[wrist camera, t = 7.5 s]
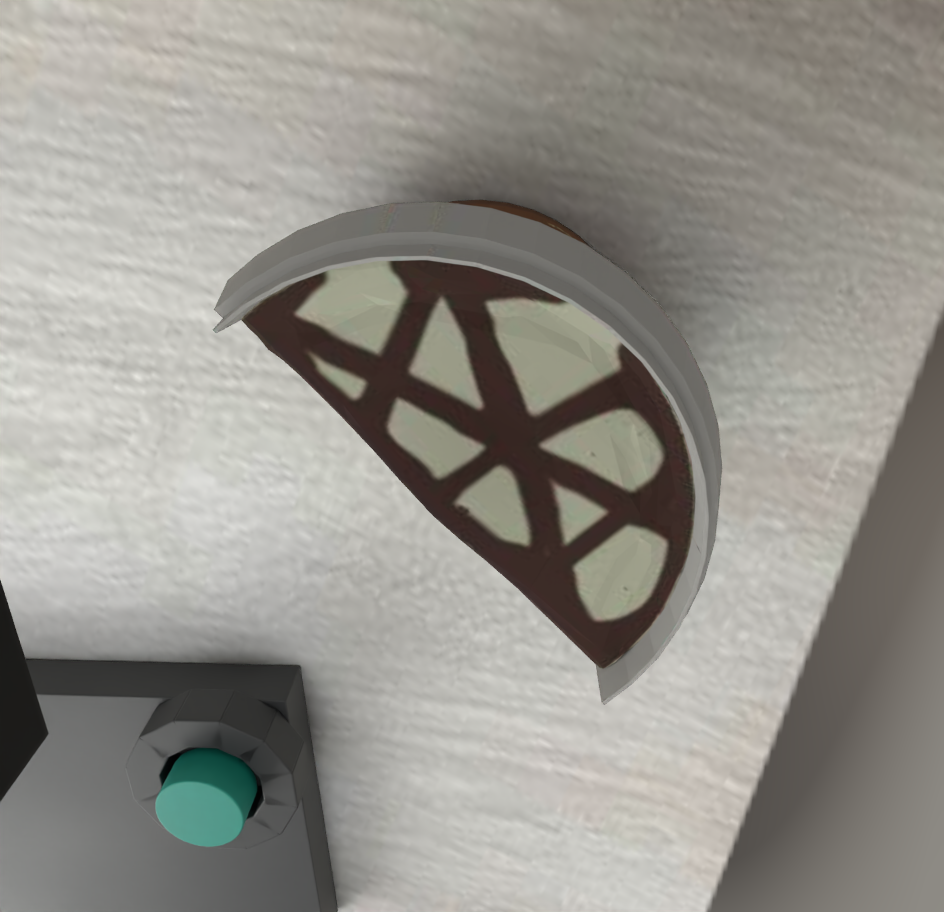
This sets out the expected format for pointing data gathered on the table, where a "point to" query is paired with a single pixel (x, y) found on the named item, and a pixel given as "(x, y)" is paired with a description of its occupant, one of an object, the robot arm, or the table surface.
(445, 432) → the food container
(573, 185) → the table surface
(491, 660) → the table surface
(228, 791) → the button
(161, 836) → the grey button box
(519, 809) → the table surface
